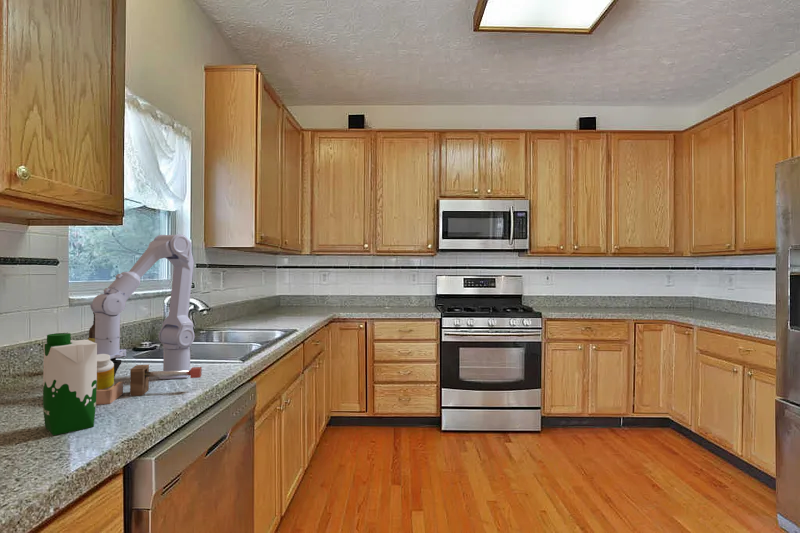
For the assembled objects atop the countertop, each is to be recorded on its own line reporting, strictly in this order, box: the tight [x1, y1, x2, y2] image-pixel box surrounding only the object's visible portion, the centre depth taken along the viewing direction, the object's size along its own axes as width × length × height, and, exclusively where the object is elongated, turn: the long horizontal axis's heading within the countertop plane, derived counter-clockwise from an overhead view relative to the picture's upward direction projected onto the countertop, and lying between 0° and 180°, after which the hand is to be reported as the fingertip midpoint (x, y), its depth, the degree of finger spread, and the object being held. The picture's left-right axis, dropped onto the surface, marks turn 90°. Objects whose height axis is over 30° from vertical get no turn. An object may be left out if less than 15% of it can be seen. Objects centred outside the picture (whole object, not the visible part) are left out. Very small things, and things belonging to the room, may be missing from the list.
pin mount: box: [129, 364, 150, 397], centre depth 124 cm, size 5×3×7 cm, turn 13°
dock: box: [96, 381, 124, 405], centre depth 117 cm, size 9×10×3 cm
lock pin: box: [145, 366, 203, 379], centre depth 125 cm, size 2×16×2 cm, turn 104°
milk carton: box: [42, 332, 97, 436], centre depth 97 cm, size 9×9×20 cm
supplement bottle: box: [96, 354, 115, 390], centre depth 120 cm, size 6×6×10 cm
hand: (106, 387), depth 125 cm, fingers closed
